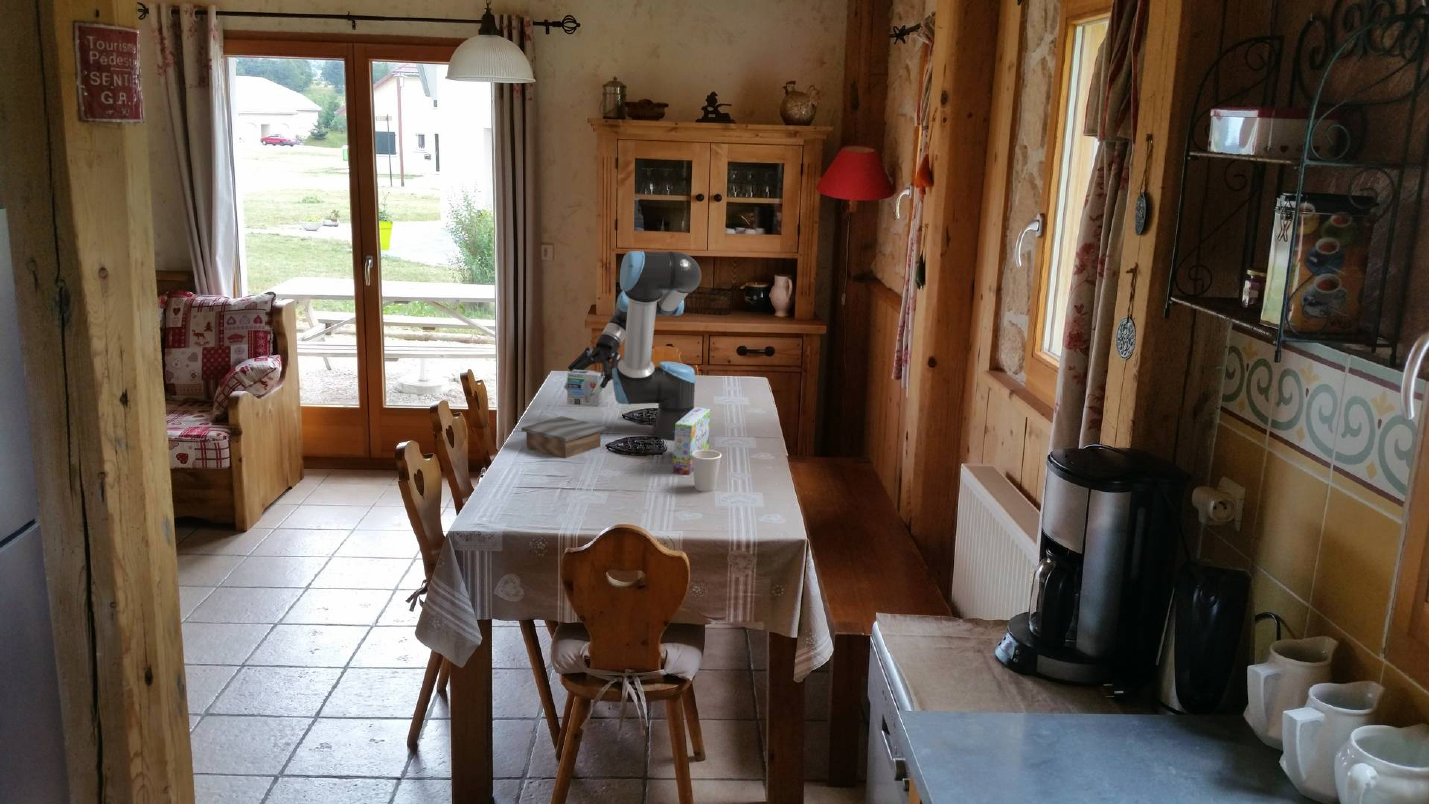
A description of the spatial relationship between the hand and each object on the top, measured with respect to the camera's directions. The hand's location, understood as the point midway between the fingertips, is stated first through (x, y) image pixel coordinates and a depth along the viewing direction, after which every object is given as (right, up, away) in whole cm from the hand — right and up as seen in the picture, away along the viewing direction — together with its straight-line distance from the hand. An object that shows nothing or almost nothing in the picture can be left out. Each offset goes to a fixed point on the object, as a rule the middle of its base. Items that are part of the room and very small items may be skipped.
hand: (580, 391), depth 353 cm
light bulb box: (+1, -4, +3) cm, 5 cm away
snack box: (+37, -22, -32) cm, 54 cm away
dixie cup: (+41, -28, -54) cm, 73 cm away
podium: (-3, -17, -20) cm, 27 cm away
